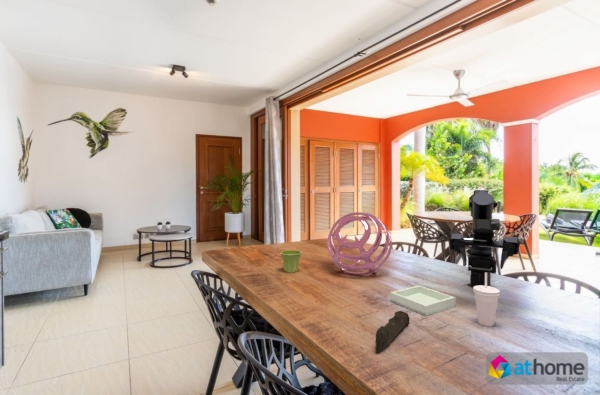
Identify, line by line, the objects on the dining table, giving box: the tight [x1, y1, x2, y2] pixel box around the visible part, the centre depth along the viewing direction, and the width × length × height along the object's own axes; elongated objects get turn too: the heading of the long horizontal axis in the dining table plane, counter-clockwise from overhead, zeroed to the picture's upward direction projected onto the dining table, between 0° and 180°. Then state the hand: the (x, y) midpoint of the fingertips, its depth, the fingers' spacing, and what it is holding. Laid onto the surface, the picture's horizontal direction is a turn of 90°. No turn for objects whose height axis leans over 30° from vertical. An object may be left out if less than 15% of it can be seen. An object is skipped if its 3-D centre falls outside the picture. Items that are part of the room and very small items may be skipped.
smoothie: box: [472, 272, 501, 327], centre depth 87 cm, size 6×6×14 cm
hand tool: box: [375, 310, 411, 354], centre depth 80 cm, size 19×4×5 cm, turn 142°
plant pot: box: [280, 249, 302, 274], centre depth 143 cm, size 9×9×9 cm
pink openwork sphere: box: [326, 211, 393, 276], centre depth 140 cm, size 28×28×27 cm
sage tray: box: [389, 284, 457, 317], centre depth 102 cm, size 14×14×3 cm
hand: (483, 266), depth 94 cm, fingers open, 9 cm apart
